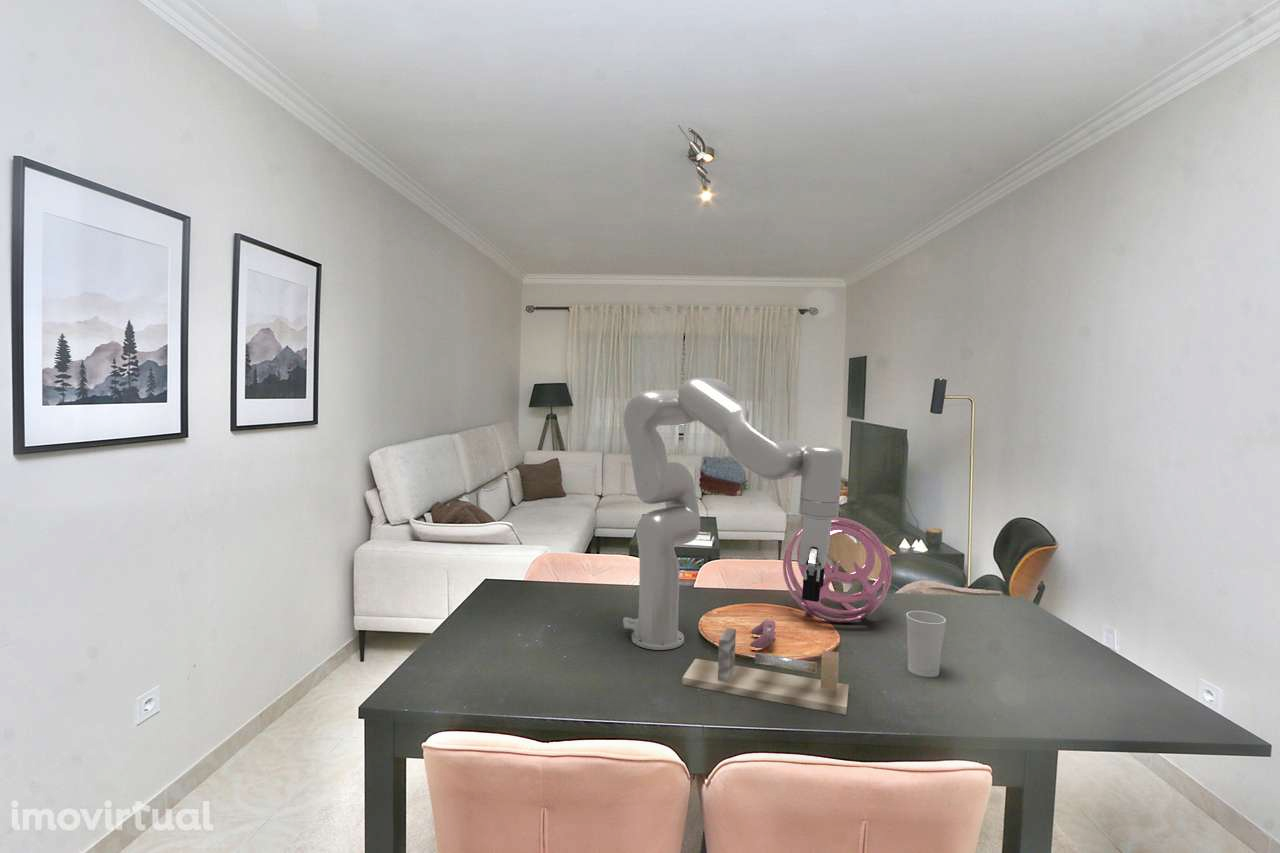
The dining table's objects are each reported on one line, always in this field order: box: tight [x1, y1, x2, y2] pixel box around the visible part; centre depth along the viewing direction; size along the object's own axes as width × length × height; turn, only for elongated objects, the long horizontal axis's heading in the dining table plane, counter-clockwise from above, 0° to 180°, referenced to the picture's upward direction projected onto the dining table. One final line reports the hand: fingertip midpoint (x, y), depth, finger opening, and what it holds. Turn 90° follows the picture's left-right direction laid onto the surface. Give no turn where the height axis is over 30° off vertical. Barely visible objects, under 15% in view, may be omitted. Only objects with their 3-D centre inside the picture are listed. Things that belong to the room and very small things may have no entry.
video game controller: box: [749, 618, 777, 649], centre depth 153 cm, size 10×5×7 cm, turn 169°
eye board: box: [681, 627, 850, 716], centre depth 130 cm, size 32×10×10 cm, turn 70°
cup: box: [905, 610, 947, 678], centre depth 140 cm, size 8×8×12 cm
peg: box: [754, 649, 840, 691], centre depth 128 cm, size 16×4×6 cm, turn 70°
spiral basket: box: [782, 516, 893, 624], centre depth 174 cm, size 28×28×27 cm
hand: (812, 592), depth 128 cm, fingers open, 9 cm apart
